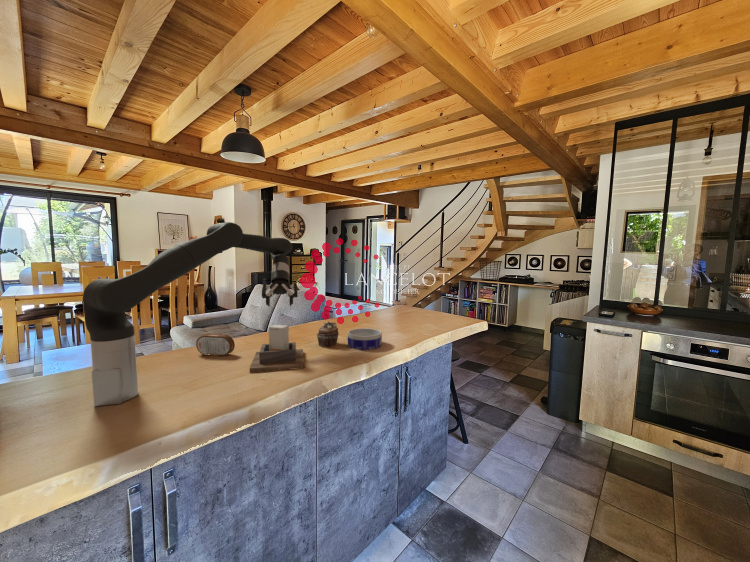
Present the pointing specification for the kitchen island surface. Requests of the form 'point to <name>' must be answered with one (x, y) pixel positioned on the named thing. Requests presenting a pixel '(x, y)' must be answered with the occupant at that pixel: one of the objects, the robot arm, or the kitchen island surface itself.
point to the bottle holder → (277, 359)
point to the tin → (215, 344)
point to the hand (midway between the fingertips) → (279, 304)
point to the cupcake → (328, 335)
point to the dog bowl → (364, 338)
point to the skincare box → (278, 337)
